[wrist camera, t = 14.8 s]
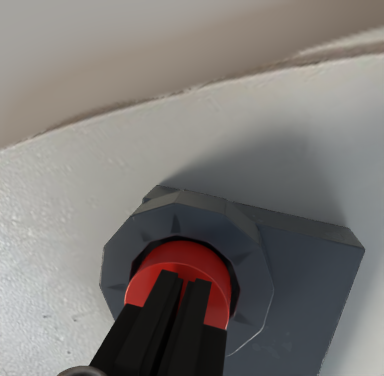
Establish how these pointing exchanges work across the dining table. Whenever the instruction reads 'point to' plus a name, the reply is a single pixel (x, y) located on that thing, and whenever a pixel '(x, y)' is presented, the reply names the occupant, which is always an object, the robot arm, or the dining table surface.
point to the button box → (249, 274)
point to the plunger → (185, 277)
